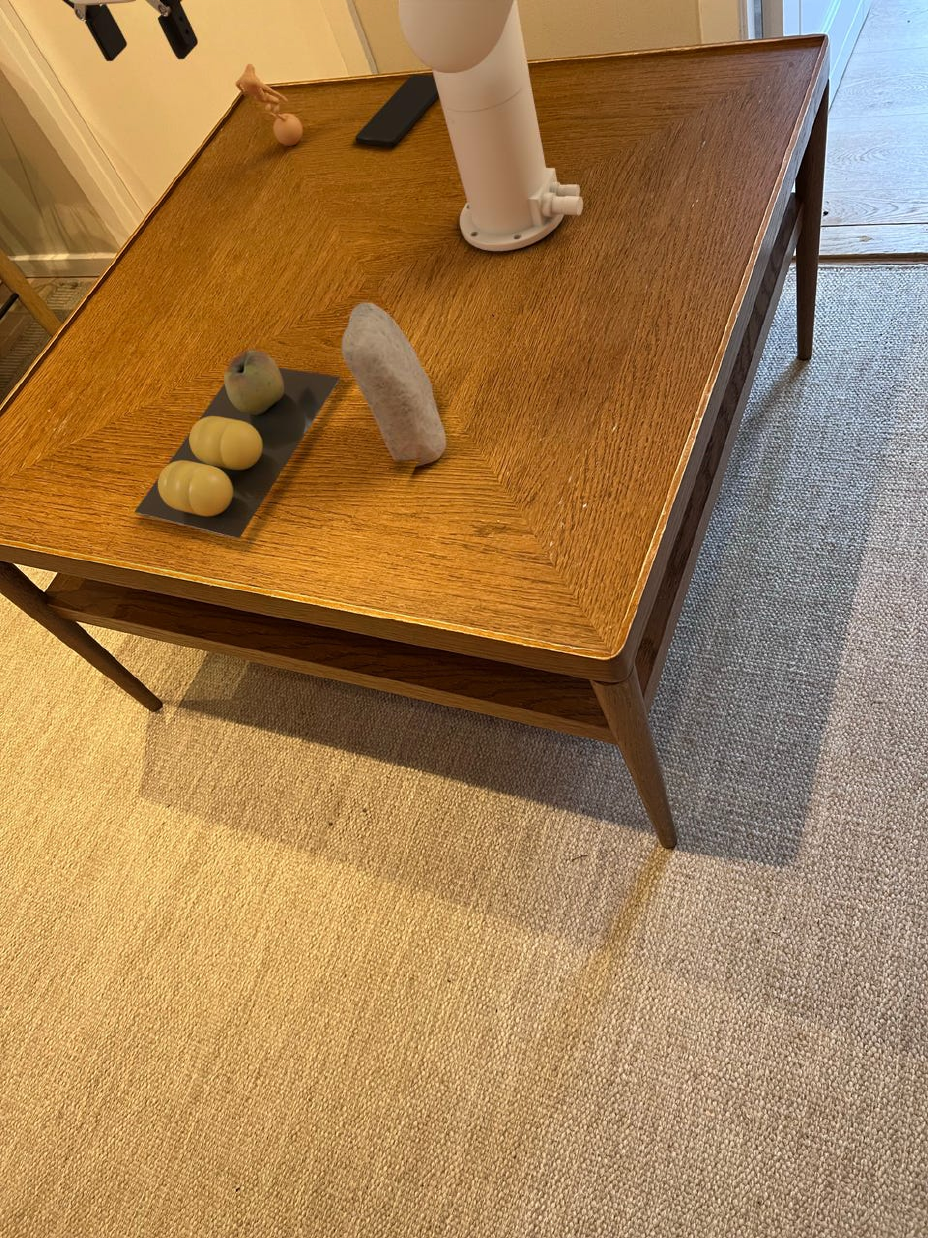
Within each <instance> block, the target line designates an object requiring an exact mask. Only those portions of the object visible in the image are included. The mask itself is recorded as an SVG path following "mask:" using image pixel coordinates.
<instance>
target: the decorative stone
mask: <svg viewBox="0 0 928 1238" xmlns="http://www.w3.org/2000/svg"><path fill="white" fill-rule="evenodd" d="M341 355H342V358H343V360H344V362H345V364H346V366H347V367H348V369H349V370H350V372H351V374H352V376H353V378H354V381H355V383H356V385H357V387H358V389H359V391H360V393H361V395H362V396H363V398H364V400H365V402H366V403H367V405H368V407H369V409H370V411H371V413H372V415H373V417H374V420H375V422H376V424H377V426H378V429H379V432H380V434H381V436H382V439H383V442H384V443H385V446H386V448H387V450H388V452H389V453H390V455H391V457H392V459H393V460H394V461H396V462H397V461H398V462H399V461H408V460H416V459H419V460H418V461H417V463H416V465H415V468H417V467H420V466H424V465H427V464H431V463H433V462H435V461H437V460H438V459H440V457H441V456H442V455H443V454H444V452H445V451H446V449H447V437H446V432H445V428H444V425H443V423H442V421H441V417H440V414H439V411H438V407H437V403H436V401H435V397H434V391H433V386H432V383H431V380H430V378H429V375H427V373H426V371H425V369H424V367H423V365H422V364H421V362H420V360H419V357H418V356H417V353H416V351H415V350H414V348H413V346H412V344H411V342H410V341H409V339H408V338H407V337H406V334H405V333H404V332H403V331H402V329H401V328H400V326H399V324H398V323H397V322H396V321H395V319H394V318H393V317H392V316H391V315H390V314H389V313H387V312H386V311H385V310H384V309H382V308H381V307H379V306H378V305H376V304H375V303H373V302H361V303H359V304H357V305H355V306H354V307H353V308H352V310H351V313H350V315H349V319H348V323H347V327H346V329H345V330H344V333H343V335H342V340H341Z"/></svg>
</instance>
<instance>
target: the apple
mask: <svg viewBox="0 0 928 1238" xmlns="http://www.w3.org/2000/svg"><path fill="white" fill-rule="evenodd" d="M279 368H280V367H279V366H278V364H277V363H276V361H275V360H274V358H273V357H272V356H270V355H269V354H268V353H266V352H264V351H261V350H258V349H247V350H245V351H243V352H241V353H239V354H238V355H236V356H235V357H233V359H232V360H231V361H230V363H229V364H228V366H227V368H226V370H225V372H224V376H223V384H225V387H226V390H227V394H228V397H229V399H230V401H231V402H232V404H233V405H234V406H235V407H236V408H237V409H238V410H240V411H241V412H244V413H248V414H252V415H258V414H261V413H263V412H264V411H266V410H267V409H268V408H269V407H270V406H272V405H273V404H274V403H276V402H277V401H278V400H280V399H281V398H282V396H283V394H284V383H283V379H282V376H281V373H280V371H279Z"/></svg>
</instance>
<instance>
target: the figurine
mask: <svg viewBox="0 0 928 1238" xmlns="http://www.w3.org/2000/svg"><path fill="white" fill-rule="evenodd" d="M235 87H236V88H237V89H238V90H239V91H241V94H242V95H243V96H244V97H246V96H248V95H251V96H253V98H254V99H255V100H256V101H258V102H259V103H264V104H266V105H265V111H266V112H267V115H268V116H269V117H271V118H273V119H274V120H275V121H274V123H273V134H274V137H275V138H276V140H277V141H278V142H279V143H280V144H282V145H284V146H288V147H290V146H295V145H296V144H298V143H299V142H300V140H301V139H302V137H303V125H302V123H301V121H300V119H299V117H297V116H295V114H293V113H288V112H286V113H281V114H280V113H279V112H280V99H279V98H281V99H282V100H283V101H285V102H286V103H287V104H289V103H290V101H289V99H288V98H286V96H285V95H283V94H281V93H280V92H278V91H276V90H274V89H272V88H271V87H269V86H268V85H267V84H265V83H264V82H261V80H260V78H259V77H258V76H257V75H256V69H255V67H254V65H253V64H251V63H248V64H247V65H246V67H245V70H244V72H243V74H242V75H241V76H240V78H239V79H237V81H235ZM264 91H267V92H264ZM268 92H269V93H268ZM271 105H275V106H274V108H273V112H271V111H272V107H271Z"/></svg>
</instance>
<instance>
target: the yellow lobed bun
mask: <svg viewBox="0 0 928 1238" xmlns="http://www.w3.org/2000/svg"><path fill="white" fill-rule="evenodd" d="M198 420H199V419H198ZM198 420H197V421H196V422H195V424H194V425H193V426H192V428H191V429H190V431H189V433H190V436H189V443H190V447H191V450H192V452H193V453H194V455H195V456H196V457H197V458H198V459H199V460H201V461H202V462H204V463H206V464H209V465H213V466H218V467H222V468H227V469H232V470H245V469H248V468H250V467H252V466H253V465H254V464H255V463H256V462H257V461H258V460H259V458H260V456H261V453H262V439H261V437H260V435H259V433H258V431H257V430H256V429H255V428H254V427H253V426H252V425H250V424H249V423H246V422H244V421H240V420H235V419H229V418H224V417H218V416H209V417H205V418H203V419H201V420H199V421H198Z"/></svg>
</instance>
